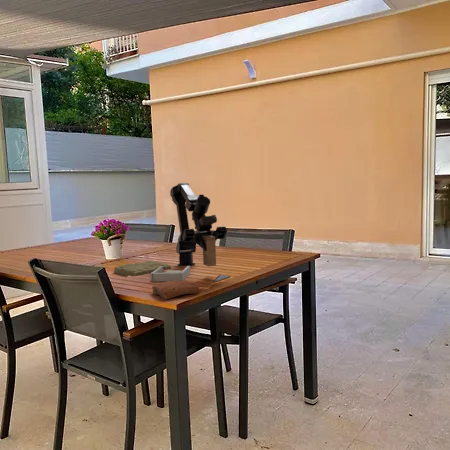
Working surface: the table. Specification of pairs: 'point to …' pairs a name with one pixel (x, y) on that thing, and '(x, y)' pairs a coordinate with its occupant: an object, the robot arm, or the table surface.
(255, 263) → the table surface
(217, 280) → the mat
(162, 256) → the table surface
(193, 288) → the ceramic shard
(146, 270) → the decorative tile
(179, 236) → the robot arm
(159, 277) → the rack
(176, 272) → the offcut
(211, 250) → the brown rectangular block
